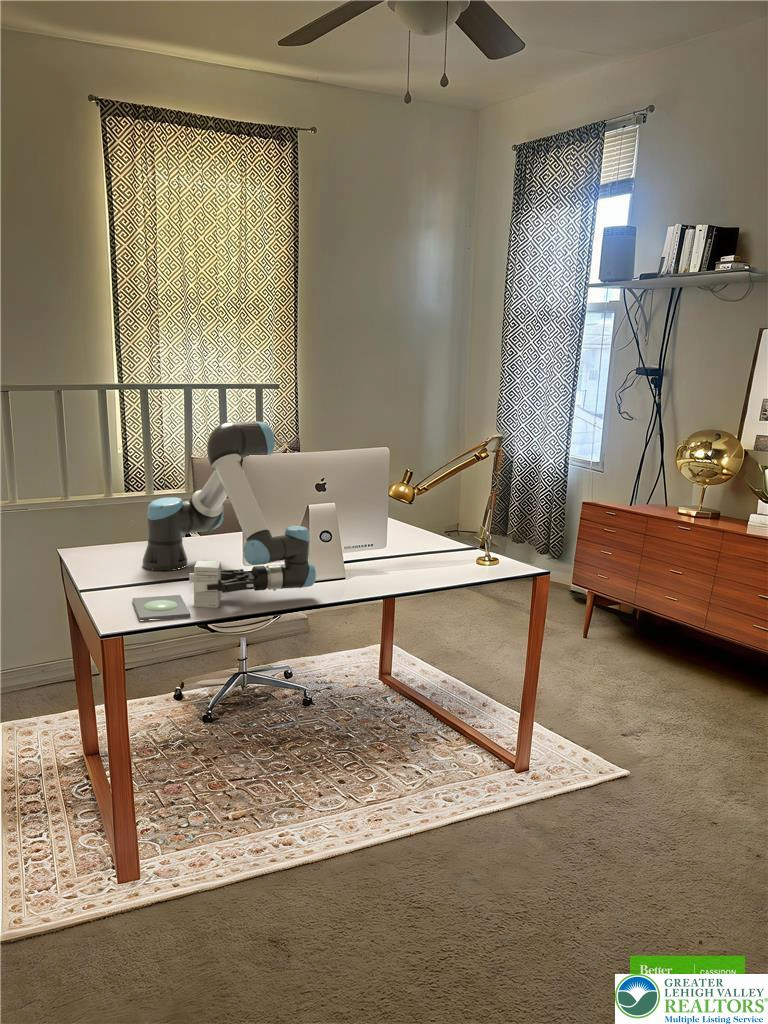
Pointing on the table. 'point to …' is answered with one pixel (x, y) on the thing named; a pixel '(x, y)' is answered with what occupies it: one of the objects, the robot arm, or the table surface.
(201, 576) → the supplement box
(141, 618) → the charging pad
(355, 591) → the table surface
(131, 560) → the table surface
